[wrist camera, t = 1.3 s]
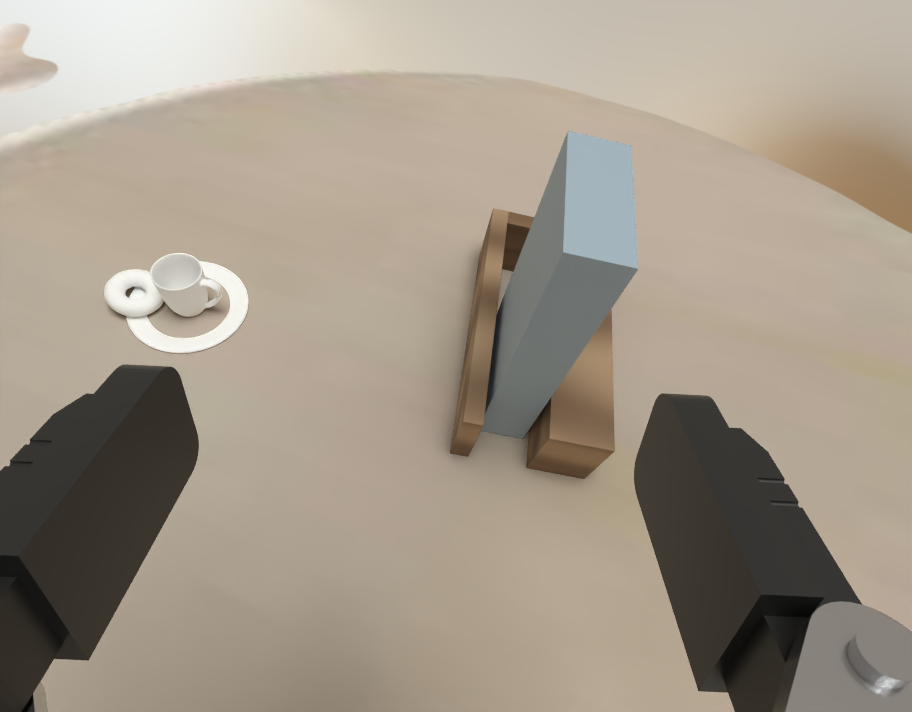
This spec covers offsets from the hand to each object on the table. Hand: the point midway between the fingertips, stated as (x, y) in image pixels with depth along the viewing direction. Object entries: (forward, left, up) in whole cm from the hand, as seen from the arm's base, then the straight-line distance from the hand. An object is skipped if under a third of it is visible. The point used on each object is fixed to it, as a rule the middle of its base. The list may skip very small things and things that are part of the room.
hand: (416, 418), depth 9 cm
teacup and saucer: (-27, +1, -26) cm, 38 cm away
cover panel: (-7, +16, -25) cm, 31 cm away
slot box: (-8, +19, -25) cm, 32 cm away
